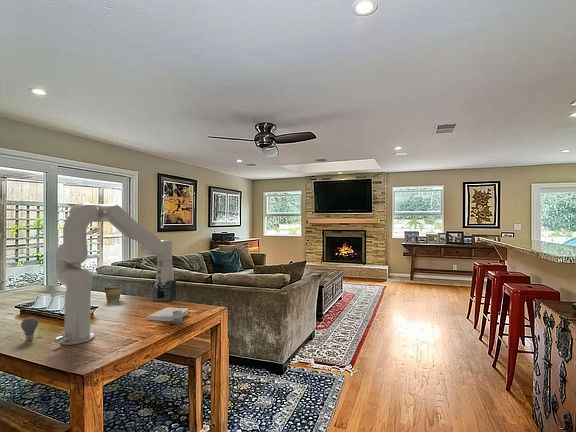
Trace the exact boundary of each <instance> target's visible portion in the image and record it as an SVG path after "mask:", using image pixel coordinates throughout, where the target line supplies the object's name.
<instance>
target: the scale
mask: <svg viewBox="0 0 576 432" xmlns="http://www.w3.org/2000/svg"><path fill="white" fill-rule="evenodd" d="M173 311H182V317H183V318H185V317H187V316H188V315H189V313H190V309H188V308H184V307H183V308H182V307H170V306H169V307H165V308H162V309H160V310H157V311H156V312H154V313H152V314H149V315H148V316H146V320H147V321H158V322H160V321H161V322H169V321H171V322H173ZM187 314H188V315H187ZM186 315H187V316H186ZM184 316H185V317H184Z"/></svg>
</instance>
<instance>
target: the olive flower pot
mask: <svg viewBox="0 0 576 432" xmlns="http://www.w3.org/2000/svg"><path fill="white" fill-rule="evenodd" d="M122 289H123V285H122V284H118V283H117V284H108V285H105V286H104V293H105V297H106V302H107V303H108V304H113V303H117V302H120V298H121V294H122Z"/></svg>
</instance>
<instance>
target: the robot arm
mask: <svg viewBox="0 0 576 432" xmlns="http://www.w3.org/2000/svg"><path fill="white" fill-rule="evenodd" d="M68 213H69V214H68V216H67V218H66V219H65V221H64V222H63V223H64V224H63V229H62V240H63V241H62V242H63V243H61V244H60V245H59V246H58V247H57V249H56V254H55V255H56V256H55V259H56V270H57V271H56V272H57V274H56V275H57V279H58V281H59V283H60V284H61V285H62V286H65V287H66V289H65V294H64V331H63V332H61V333H62V334H61V335H60V336H57V337H55V338H54V339H53V342H54V343H55V344H57V343H60V344H61V345H66V346H70V345H72V346H73V345H80V344H83V343H86V342H89V341H91V340H93V339H94V338H95V333H93V332H91V295H92V286H93V274H92V272H91V271H90V270H89V269H88V268H86V267H82V264H83V263H85V261H87V259H88V256H89V255H88V254H89V250H88V241H87V228H88V227H89V225H90V224H91V223H100V222H101V223H103V222H105V223H107V222H109V224H111V225H112V226H113V227H114V228H115V229H116V230H118V232H120V233H121V234H122V235H123V236H125V237H127V238H128V239H130V240H132V241H135V242H137V243H139V244H140V248H139V249H140V252H141V253H142V254H145V256H154V257H156V259H157V260H156V263H157V264H156V266H157V267H156V275H155V281H156V283H155V287H156V289H157V298H163V287H164V286H165V285H166V282H169V281H173V280H175V274H174V273H175V271H174V265H173V242H172V240H171V239H170V240H169V239H162V240H160V238H159V237H158V236H157V235H155V234H154V233H153V232H152V231H150V230H149V229H147V228H146V227H144V226H143V225H141V224H140V223H138V222H137V221H136V220H135V219H134V218H133V217H132V216H131V215H130V214H129V213H128V212H127V211H125V210H124V209H123V208H122V207H121V205H118V204H115V203H107V204H106V203H105V204H94V203H92V202H82V203H76V204H74V205H72V206H71V207H70V209H69V212H68ZM159 283H161V284H162V285H159ZM160 286H161V287H160Z"/></svg>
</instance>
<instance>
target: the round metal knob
mask: <svg viewBox="0 0 576 432" xmlns="http://www.w3.org/2000/svg"><path fill="white" fill-rule="evenodd" d="M181 323H182V324H183V318H182V311H173V321H172V325H173V326H179V325H178V324H180V325H182V324H181Z"/></svg>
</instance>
